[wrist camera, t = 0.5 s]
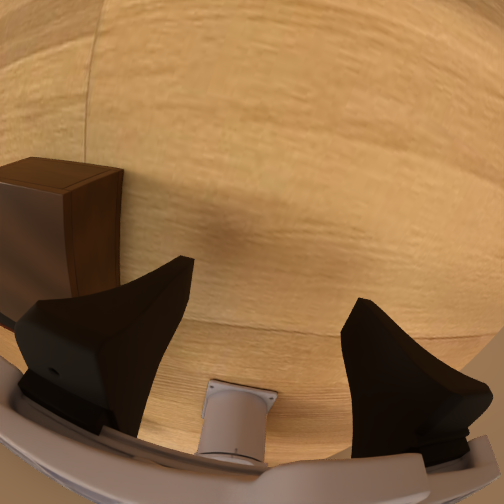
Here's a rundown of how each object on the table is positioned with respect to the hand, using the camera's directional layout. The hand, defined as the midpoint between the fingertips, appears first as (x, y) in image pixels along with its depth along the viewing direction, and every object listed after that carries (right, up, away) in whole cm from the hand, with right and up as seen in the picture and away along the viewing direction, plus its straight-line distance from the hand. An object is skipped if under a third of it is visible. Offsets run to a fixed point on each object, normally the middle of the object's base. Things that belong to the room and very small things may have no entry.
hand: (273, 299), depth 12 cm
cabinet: (-18, +4, +11) cm, 21 cm away
